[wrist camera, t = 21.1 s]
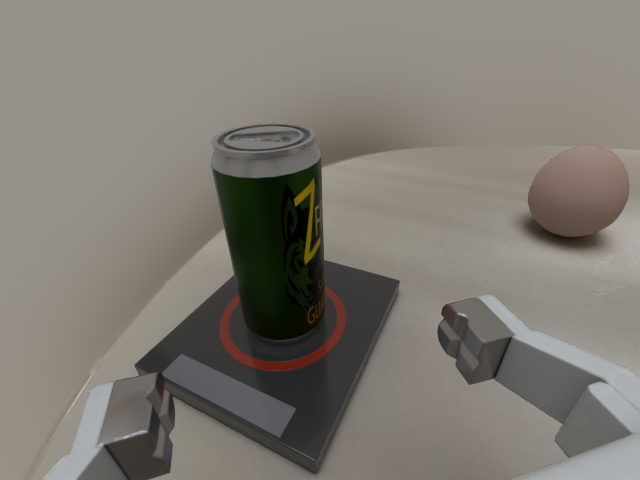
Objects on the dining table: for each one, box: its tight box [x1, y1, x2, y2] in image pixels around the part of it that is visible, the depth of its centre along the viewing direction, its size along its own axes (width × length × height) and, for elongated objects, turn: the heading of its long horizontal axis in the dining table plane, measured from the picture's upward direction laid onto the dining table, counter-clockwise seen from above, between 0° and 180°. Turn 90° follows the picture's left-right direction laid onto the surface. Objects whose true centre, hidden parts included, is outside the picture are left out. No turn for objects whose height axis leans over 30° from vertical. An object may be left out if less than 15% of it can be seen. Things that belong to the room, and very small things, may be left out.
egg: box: [528, 145, 629, 237], centre depth 31 cm, size 7×7×8 cm
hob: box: [134, 260, 400, 473], centre depth 23 cm, size 14×12×1 cm
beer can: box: [211, 123, 325, 345], centre depth 20 cm, size 5×5×12 cm
